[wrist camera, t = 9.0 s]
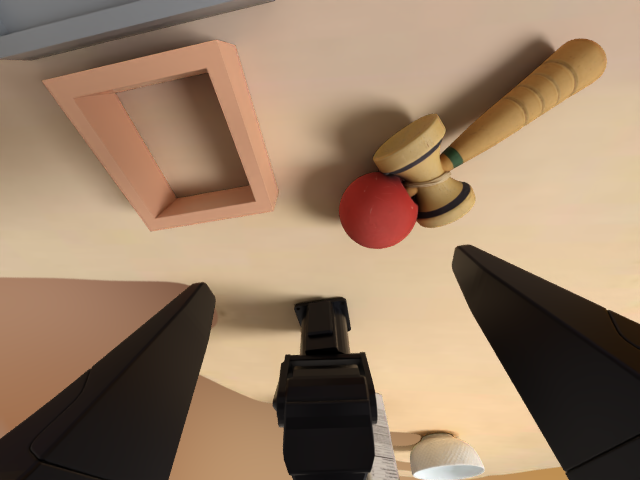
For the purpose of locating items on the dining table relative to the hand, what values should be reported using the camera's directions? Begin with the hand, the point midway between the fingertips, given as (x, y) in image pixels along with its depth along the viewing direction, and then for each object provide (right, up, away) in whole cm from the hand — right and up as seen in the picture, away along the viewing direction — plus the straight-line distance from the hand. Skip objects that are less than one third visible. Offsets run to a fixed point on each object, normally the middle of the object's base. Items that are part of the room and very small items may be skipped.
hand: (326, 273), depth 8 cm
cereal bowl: (+31, -52, +55) cm, 81 cm away
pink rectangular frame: (-10, +9, +10) cm, 16 cm away
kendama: (+9, +9, +10) cm, 16 cm away
